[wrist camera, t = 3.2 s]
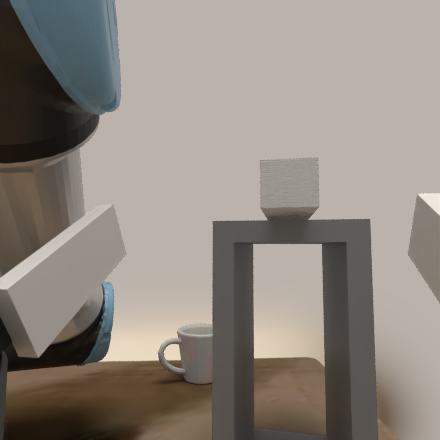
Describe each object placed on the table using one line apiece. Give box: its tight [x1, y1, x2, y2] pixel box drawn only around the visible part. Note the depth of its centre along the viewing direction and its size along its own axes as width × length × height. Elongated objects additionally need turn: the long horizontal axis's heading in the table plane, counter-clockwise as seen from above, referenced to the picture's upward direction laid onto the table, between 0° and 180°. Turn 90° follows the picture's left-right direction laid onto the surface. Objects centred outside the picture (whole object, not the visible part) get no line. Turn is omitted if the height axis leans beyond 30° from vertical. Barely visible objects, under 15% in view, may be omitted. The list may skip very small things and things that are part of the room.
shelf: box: [212, 219, 378, 440], centre depth 38 cm, size 19×14×30 cm
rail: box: [260, 158, 319, 220], centre depth 33 cm, size 26×4×3 cm, turn 169°
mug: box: [158, 323, 213, 384], centre depth 68 cm, size 10×15×10 cm
